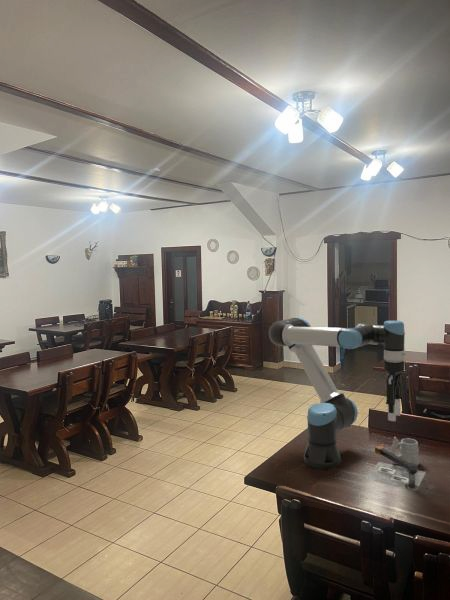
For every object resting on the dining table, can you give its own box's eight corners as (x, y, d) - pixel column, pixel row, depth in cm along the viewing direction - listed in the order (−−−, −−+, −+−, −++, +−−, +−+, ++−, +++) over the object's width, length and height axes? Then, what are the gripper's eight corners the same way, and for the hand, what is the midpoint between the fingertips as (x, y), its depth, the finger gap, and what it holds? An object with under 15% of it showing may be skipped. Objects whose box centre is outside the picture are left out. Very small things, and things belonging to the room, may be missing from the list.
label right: (390, 480, 170) (390, 478, 170) (393, 475, 173) (393, 474, 173) (407, 484, 167) (407, 482, 167) (409, 479, 170) (409, 478, 170)
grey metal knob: (403, 490, 164) (403, 473, 163) (406, 484, 168) (406, 467, 167) (417, 494, 161) (417, 476, 161) (420, 488, 165) (420, 470, 165)
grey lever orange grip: (419, 472, 163) (419, 466, 163) (411, 474, 162) (411, 468, 161) (381, 450, 182) (381, 445, 182) (374, 452, 181) (374, 447, 180)
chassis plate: (366, 480, 172) (366, 478, 172) (378, 463, 186) (378, 461, 186) (416, 493, 162) (416, 491, 162) (425, 474, 176) (425, 472, 176)
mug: (423, 468, 181) (423, 439, 180) (394, 470, 180) (394, 441, 179) (413, 460, 188) (413, 431, 187) (386, 461, 187) (386, 433, 186)
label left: (377, 471, 177) (377, 470, 177) (380, 467, 181) (380, 466, 180) (393, 475, 174) (393, 474, 174) (395, 471, 177) (395, 469, 177)
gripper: (398, 366, 167) (398, 427, 169) (409, 356, 183) (409, 412, 185) (377, 364, 171) (377, 423, 173) (390, 354, 187) (390, 409, 189)
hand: (394, 417), depth 179 cm, fingers open, 6 cm apart
